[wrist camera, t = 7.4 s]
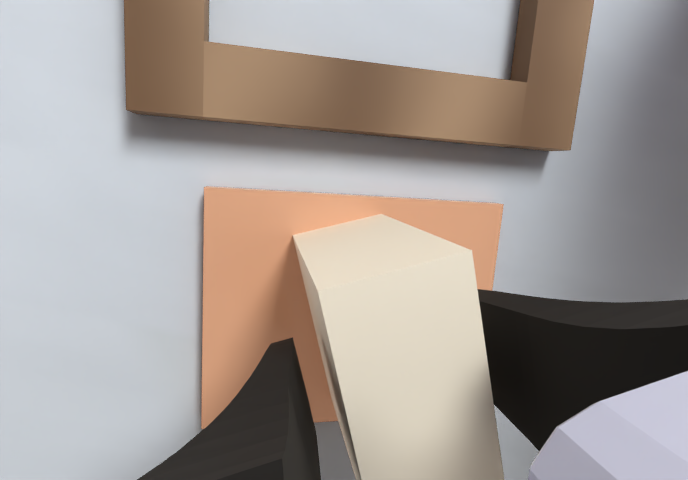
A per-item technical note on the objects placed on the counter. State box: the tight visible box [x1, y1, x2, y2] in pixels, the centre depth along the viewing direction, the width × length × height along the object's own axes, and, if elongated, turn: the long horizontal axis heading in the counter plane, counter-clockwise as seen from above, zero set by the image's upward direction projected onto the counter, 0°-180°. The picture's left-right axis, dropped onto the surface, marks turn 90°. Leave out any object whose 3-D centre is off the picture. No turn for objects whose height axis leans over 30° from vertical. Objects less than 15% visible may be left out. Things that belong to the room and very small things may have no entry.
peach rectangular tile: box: [201, 186, 504, 429], centre depth 14 cm, size 10×8×1 cm
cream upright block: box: [293, 214, 504, 480], centre depth 11 cm, size 3×6×6 cm, turn 11°
